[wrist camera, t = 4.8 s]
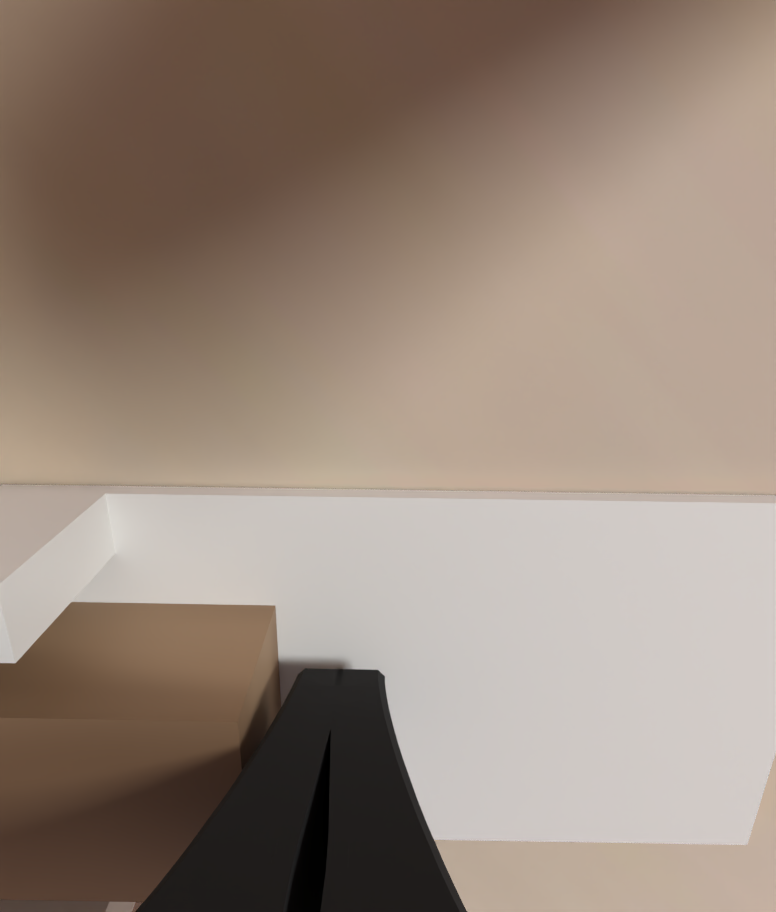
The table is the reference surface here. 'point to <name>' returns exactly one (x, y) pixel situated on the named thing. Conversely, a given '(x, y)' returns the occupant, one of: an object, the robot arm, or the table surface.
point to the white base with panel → (467, 635)
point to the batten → (126, 741)
